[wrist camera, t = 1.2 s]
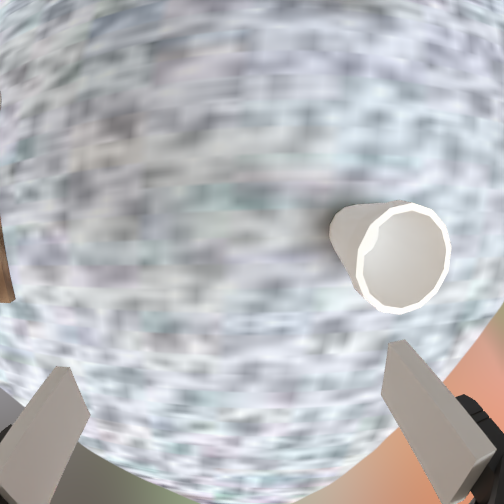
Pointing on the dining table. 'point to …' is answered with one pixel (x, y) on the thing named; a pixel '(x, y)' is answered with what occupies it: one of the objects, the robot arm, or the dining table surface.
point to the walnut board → (5, 274)
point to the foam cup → (392, 253)
